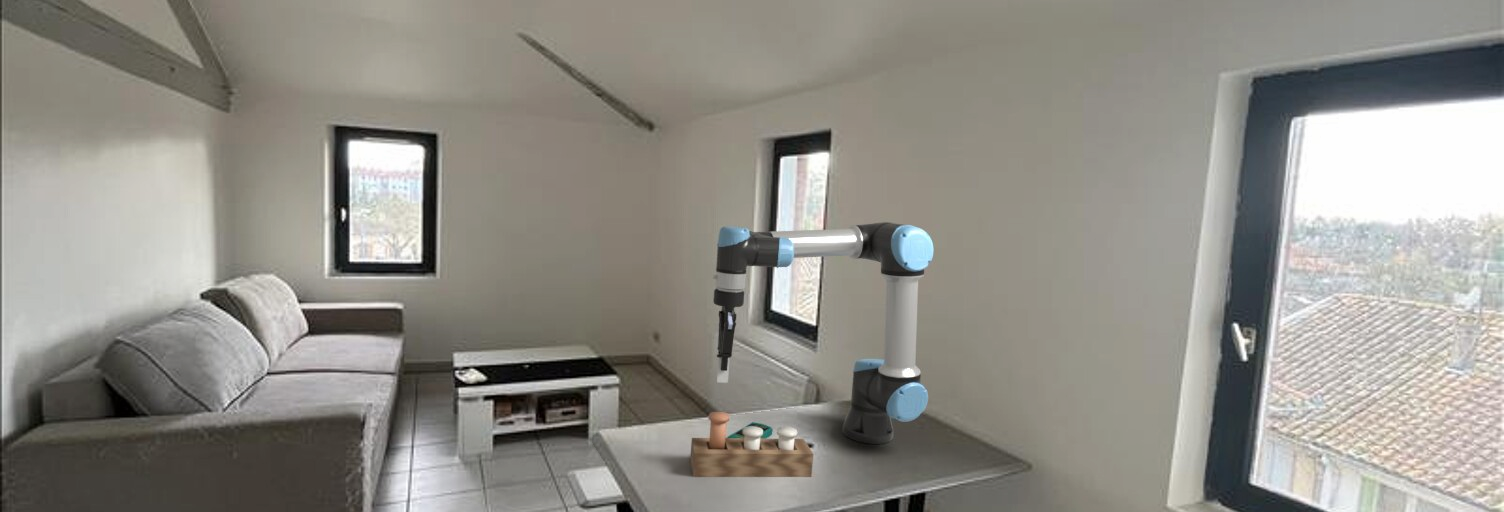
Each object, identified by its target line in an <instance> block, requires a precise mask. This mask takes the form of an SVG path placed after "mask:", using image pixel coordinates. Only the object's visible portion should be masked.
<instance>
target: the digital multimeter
mask: <svg viewBox="0 0 1504 512" xmlns="http://www.w3.org/2000/svg"><path fill="white" fill-rule="evenodd" d="M748 426H755V427H759V428H761V429H763V435H762V436H761V437H760V438H762V439H768V438H769V437H770V436H773V430H774V429H773V428H772V427H771V426H769V425H768V424H764V423H760V422H755V421H753V422H750V423H749V424H747V425H745V426H744V427H748ZM744 427H741V429H738V430H737V431H735V432H733V433H731V434H730V435H729V436H727V438H745V435H743V428H744Z"/></svg>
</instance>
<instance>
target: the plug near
mask: <svg viewBox="0 0 1504 512" xmlns="http://www.w3.org/2000/svg"><path fill="white" fill-rule="evenodd" d="M776 430H777V431H776V434H777V435H778V439H779V443H778V450H794V439H796V437H797V436H798V429H796V428H795V427H792V426H779V427H778V428H777V429H776Z"/></svg>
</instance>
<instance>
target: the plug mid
mask: <svg viewBox="0 0 1504 512" xmlns="http://www.w3.org/2000/svg"><path fill="white" fill-rule="evenodd" d="M742 428H743V435H745V439H744V450H759V447H760V437H761V436H762V435H763V429H761V428H759V427H755V426H748V427H745V426H743V427H742Z"/></svg>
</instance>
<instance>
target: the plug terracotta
mask: <svg viewBox="0 0 1504 512" xmlns="http://www.w3.org/2000/svg"><path fill="white" fill-rule="evenodd" d="M708 420H709V421H710V427H709V438H710V439H709V449H719V450H725V438H726V435H727V422H729V421H730V414H729V413H727V412H724V411H711V412H710V413H709V414H708Z"/></svg>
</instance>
